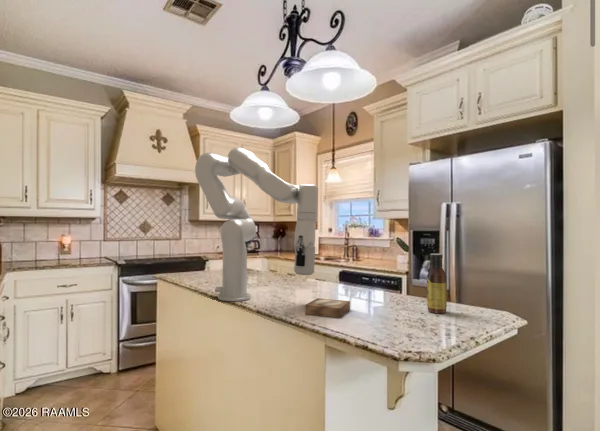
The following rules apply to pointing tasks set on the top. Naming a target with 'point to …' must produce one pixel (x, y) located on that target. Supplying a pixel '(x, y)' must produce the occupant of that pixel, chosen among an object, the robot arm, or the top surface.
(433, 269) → the sauce bottle
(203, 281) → the top surface
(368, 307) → the top surface
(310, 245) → the can
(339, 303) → the base
